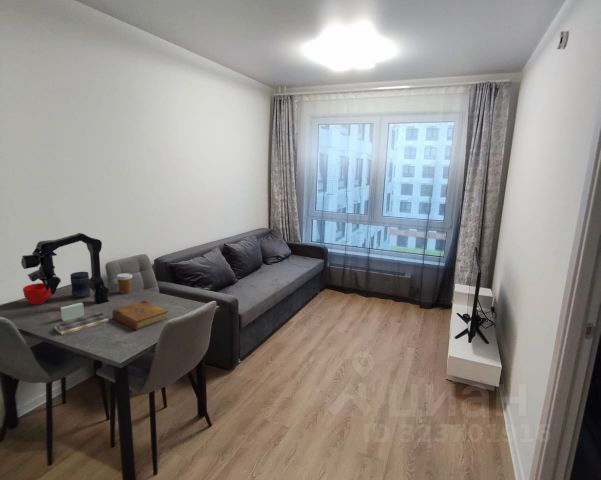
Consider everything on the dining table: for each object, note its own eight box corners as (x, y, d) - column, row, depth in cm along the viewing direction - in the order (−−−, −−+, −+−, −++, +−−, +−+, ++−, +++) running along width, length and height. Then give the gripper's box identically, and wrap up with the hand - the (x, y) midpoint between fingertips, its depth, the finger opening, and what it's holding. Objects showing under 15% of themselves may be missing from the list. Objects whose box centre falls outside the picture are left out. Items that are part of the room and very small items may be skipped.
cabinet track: (100, 315, 197) (100, 310, 196) (108, 321, 191) (108, 316, 190) (55, 328, 180) (54, 323, 179) (62, 334, 174) (61, 329, 173)
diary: (112, 319, 194) (112, 309, 193) (144, 309, 209) (143, 300, 208) (136, 331, 181) (135, 321, 180) (168, 320, 196) (167, 310, 195)
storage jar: (73, 294, 225) (71, 272, 222) (91, 293, 229) (89, 271, 226) (71, 300, 216) (68, 276, 213) (89, 298, 221) (87, 275, 218)
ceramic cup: (43, 308, 203) (41, 292, 201) (18, 305, 206) (16, 288, 204) (62, 300, 215) (60, 285, 213) (39, 297, 218) (37, 282, 216)
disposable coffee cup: (120, 289, 237) (119, 272, 235) (135, 289, 239) (134, 272, 236) (115, 294, 228) (113, 277, 226) (130, 294, 229) (129, 277, 227)
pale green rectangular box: (82, 314, 198) (81, 302, 197) (84, 315, 196) (83, 303, 195) (61, 319, 190) (60, 307, 189) (63, 321, 188) (62, 309, 187)
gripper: (23, 263, 188) (27, 291, 192) (33, 271, 177) (37, 300, 180) (48, 260, 197) (51, 286, 200) (59, 267, 185) (62, 295, 188)
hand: (50, 292), depth 192 cm, fingers open, 9 cm apart
